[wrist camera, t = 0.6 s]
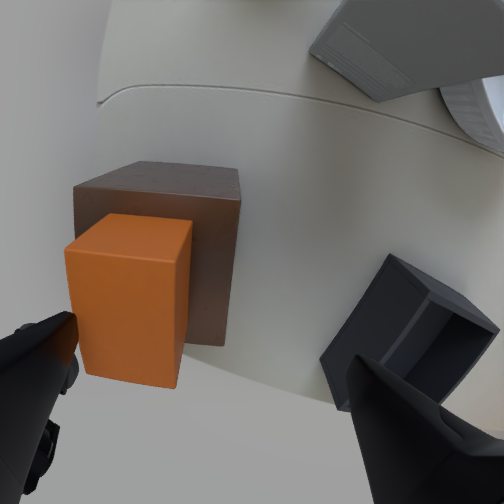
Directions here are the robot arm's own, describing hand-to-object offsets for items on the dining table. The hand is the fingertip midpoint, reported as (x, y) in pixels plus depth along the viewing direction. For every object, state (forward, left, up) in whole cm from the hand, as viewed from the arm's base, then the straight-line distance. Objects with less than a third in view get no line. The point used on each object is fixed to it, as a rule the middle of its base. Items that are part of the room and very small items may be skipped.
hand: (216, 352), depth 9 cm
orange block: (-1, +3, -4) cm, 5 cm away
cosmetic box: (+17, -3, -15) cm, 23 cm away
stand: (-1, +3, -14) cm, 15 cm away
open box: (-3, -19, -14) cm, 24 cm away
